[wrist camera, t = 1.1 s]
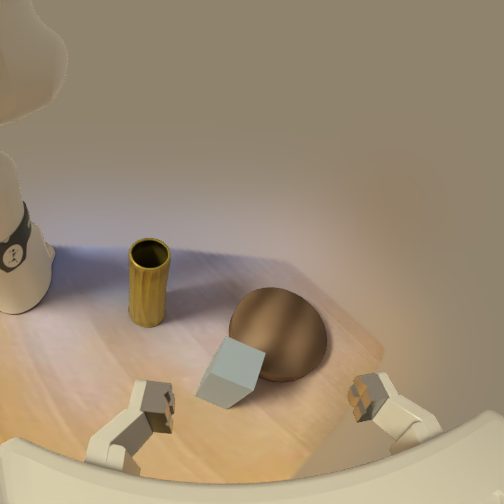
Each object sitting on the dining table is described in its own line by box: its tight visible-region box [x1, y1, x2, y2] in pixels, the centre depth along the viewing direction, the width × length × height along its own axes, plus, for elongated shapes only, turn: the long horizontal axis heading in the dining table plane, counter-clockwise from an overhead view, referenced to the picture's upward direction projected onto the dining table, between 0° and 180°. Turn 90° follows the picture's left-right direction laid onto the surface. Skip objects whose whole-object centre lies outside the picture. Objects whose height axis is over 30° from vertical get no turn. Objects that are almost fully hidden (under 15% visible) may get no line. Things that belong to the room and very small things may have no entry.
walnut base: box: [229, 288, 327, 382], centre depth 45 cm, size 17×17×3 cm
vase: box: [129, 238, 170, 327], centre depth 37 cm, size 6×6×14 cm
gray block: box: [195, 336, 266, 409], centre depth 33 cm, size 5×5×12 cm
